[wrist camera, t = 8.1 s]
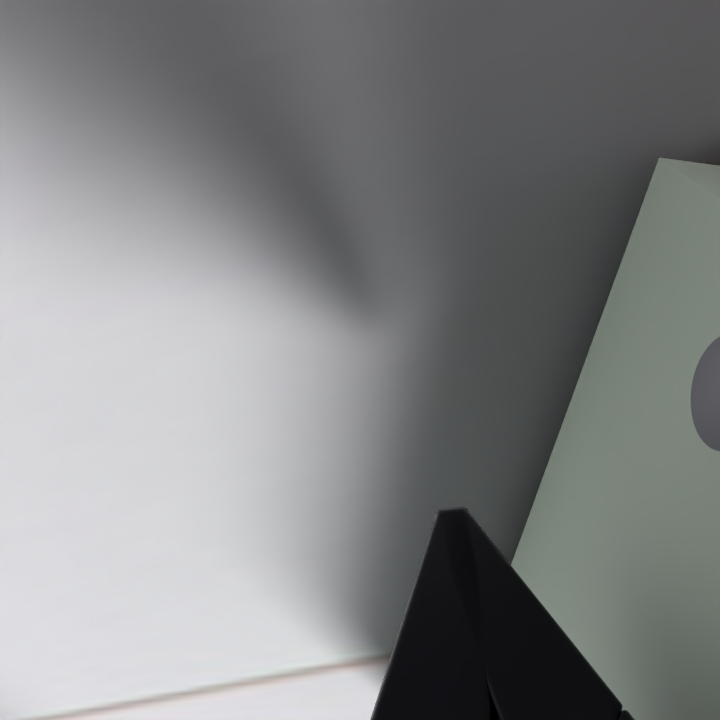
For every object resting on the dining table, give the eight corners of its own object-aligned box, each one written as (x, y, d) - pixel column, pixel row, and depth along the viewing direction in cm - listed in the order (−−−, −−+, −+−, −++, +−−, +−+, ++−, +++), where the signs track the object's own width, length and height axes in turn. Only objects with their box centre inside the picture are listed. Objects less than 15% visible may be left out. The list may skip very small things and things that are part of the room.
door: (409, 759, 17) (423, 1097, 12) (602, 150, 9) (906, 412, 4) (488, 766, 17) (533, 1105, 12) (751, 169, 9) (1248, 451, 4)
